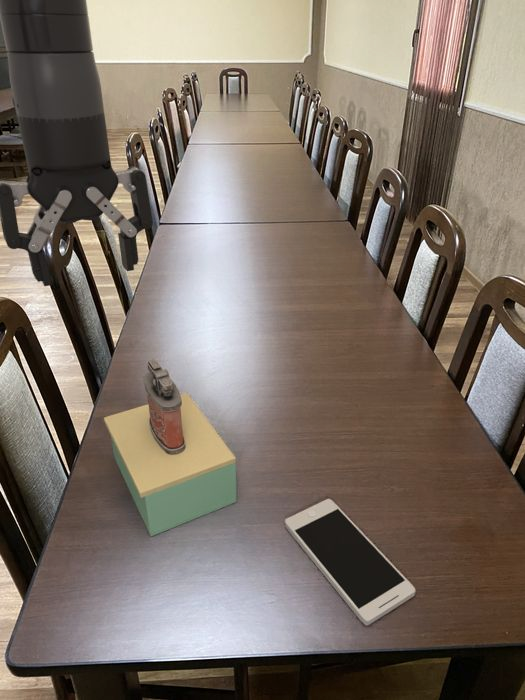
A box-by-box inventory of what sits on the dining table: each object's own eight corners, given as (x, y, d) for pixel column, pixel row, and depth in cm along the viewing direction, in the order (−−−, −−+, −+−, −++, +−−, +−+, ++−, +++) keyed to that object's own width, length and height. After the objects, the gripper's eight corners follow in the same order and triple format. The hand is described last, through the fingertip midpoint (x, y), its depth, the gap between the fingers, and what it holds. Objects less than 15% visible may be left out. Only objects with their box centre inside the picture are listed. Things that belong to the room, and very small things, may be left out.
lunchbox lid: (140, 498, 61) (139, 493, 61) (104, 422, 73) (103, 417, 72) (236, 462, 66) (235, 457, 66) (187, 396, 78) (187, 392, 77)
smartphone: (329, 502, 70) (329, 496, 69) (416, 595, 58) (417, 589, 58) (283, 524, 66) (283, 519, 66) (365, 627, 55) (366, 622, 55)
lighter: (191, 449, 67) (186, 383, 62) (165, 458, 65) (157, 391, 60) (168, 414, 73) (161, 351, 68) (144, 422, 71) (135, 358, 66)
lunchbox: (150, 537, 65) (144, 496, 61) (114, 458, 76) (107, 420, 73) (236, 502, 70) (236, 463, 66) (190, 433, 81) (187, 396, 78)
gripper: (-23, 119, 43) (22, 303, 51) (150, 109, 49) (165, 275, 57) (-30, 108, 48) (12, 275, 57) (125, 100, 54) (142, 253, 63)
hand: (89, 275), depth 57 cm, fingers open, 8 cm apart
